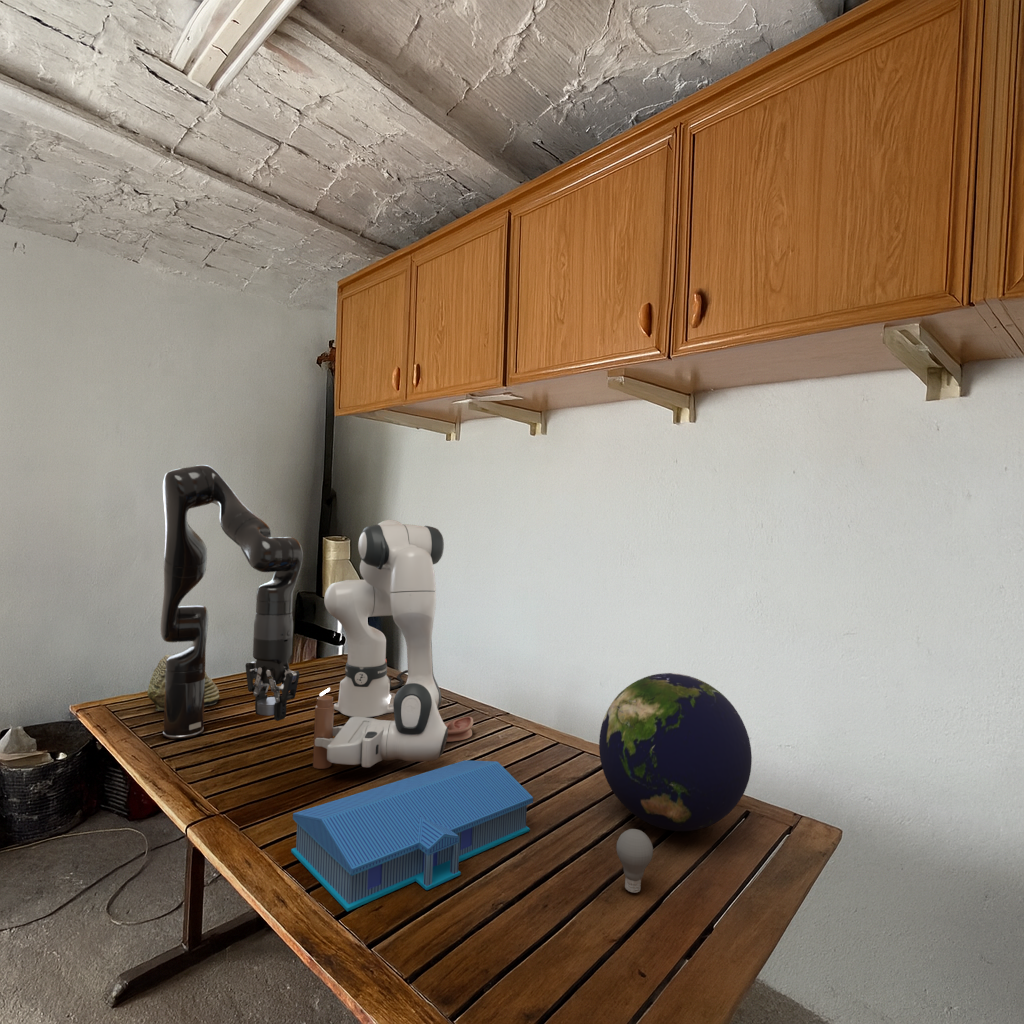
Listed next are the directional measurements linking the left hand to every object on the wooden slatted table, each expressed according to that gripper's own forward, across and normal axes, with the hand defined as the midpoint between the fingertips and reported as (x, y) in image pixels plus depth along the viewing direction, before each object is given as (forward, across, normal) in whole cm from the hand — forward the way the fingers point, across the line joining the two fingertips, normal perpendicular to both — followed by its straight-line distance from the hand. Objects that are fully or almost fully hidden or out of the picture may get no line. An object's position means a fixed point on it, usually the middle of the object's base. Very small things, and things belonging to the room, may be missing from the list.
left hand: (270, 716), depth 130 cm
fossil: (+18, -67, +24) cm, 73 cm away
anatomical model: (+18, +8, +52) cm, 56 cm away
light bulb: (+18, +74, +14) cm, 77 cm away
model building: (+18, +36, +5) cm, 40 cm away
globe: (+18, +72, +40) cm, 85 cm away
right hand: (+11, -5, +19) cm, 22 cm away
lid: (-3, 0, 0) cm, 3 cm away
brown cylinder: (+18, -5, +19) cm, 27 cm away
